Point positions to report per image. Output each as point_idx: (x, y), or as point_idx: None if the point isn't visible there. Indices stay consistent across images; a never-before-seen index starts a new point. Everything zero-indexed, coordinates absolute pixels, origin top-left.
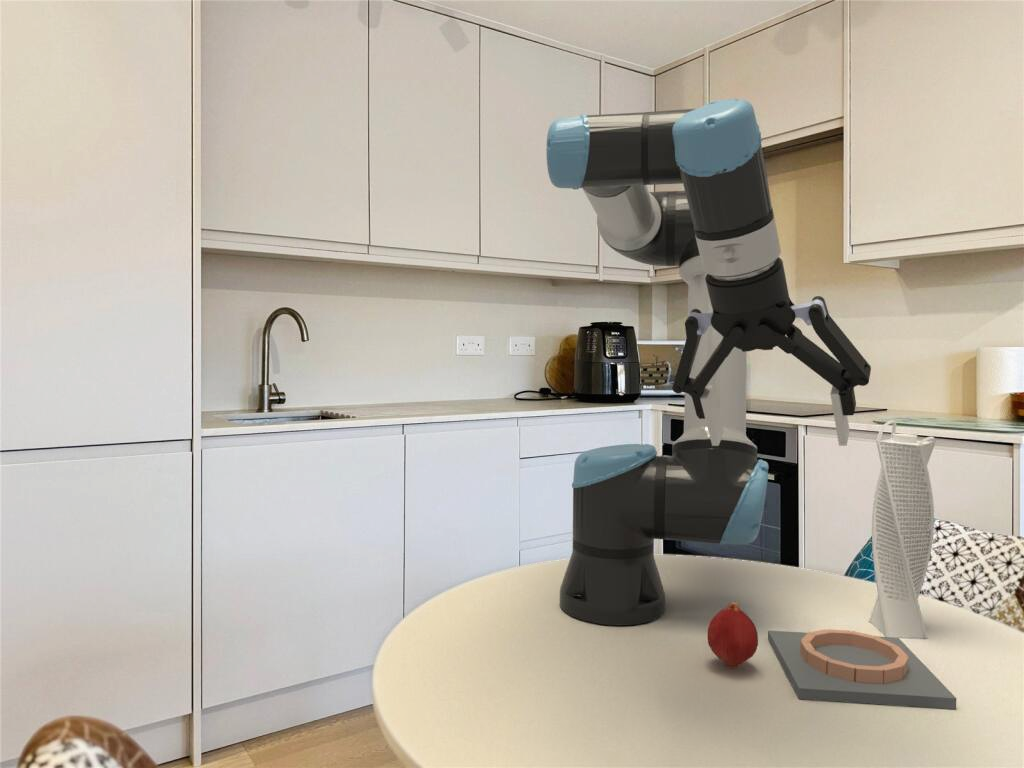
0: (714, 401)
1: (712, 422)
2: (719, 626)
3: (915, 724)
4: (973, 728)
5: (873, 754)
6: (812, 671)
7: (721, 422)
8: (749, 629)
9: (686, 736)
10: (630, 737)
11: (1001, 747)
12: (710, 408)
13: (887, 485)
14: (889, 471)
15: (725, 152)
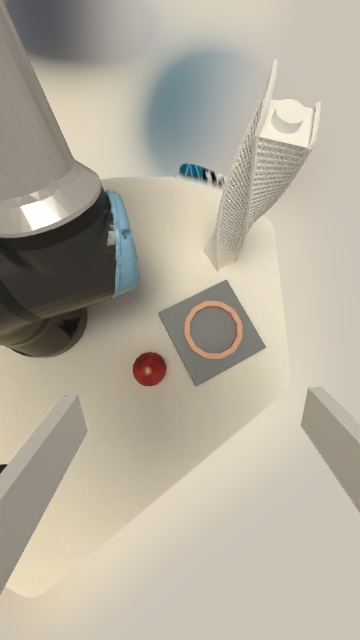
0: (14, 502)
1: (53, 492)
2: (143, 383)
3: (250, 377)
4: (272, 364)
5: (239, 423)
6: (196, 358)
7: (63, 414)
8: (161, 374)
9: (156, 468)
10: (131, 490)
11: (285, 377)
12: (24, 538)
13: (250, 197)
14: (256, 178)
15: None
